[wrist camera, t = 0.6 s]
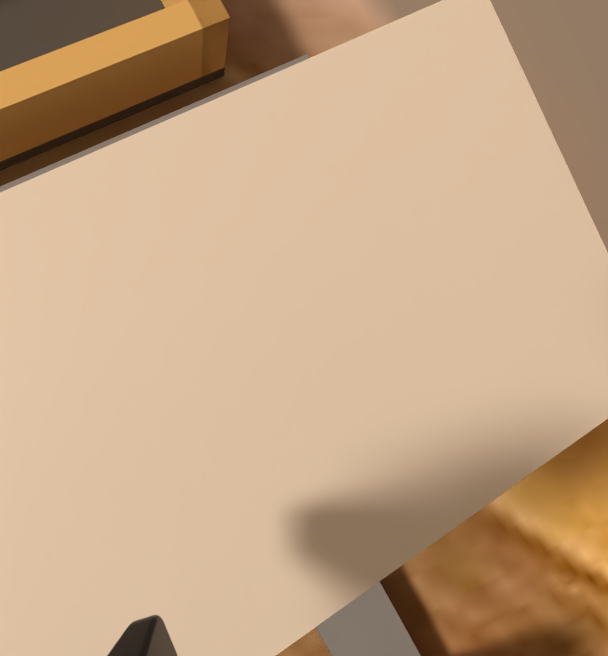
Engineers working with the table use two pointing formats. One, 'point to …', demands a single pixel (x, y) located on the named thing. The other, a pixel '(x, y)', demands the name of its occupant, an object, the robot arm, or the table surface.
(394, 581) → the table surface
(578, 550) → the table surface
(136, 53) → the tan wooden open box
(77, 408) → the white miniature table
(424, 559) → the table surface
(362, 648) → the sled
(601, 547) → the table surface
